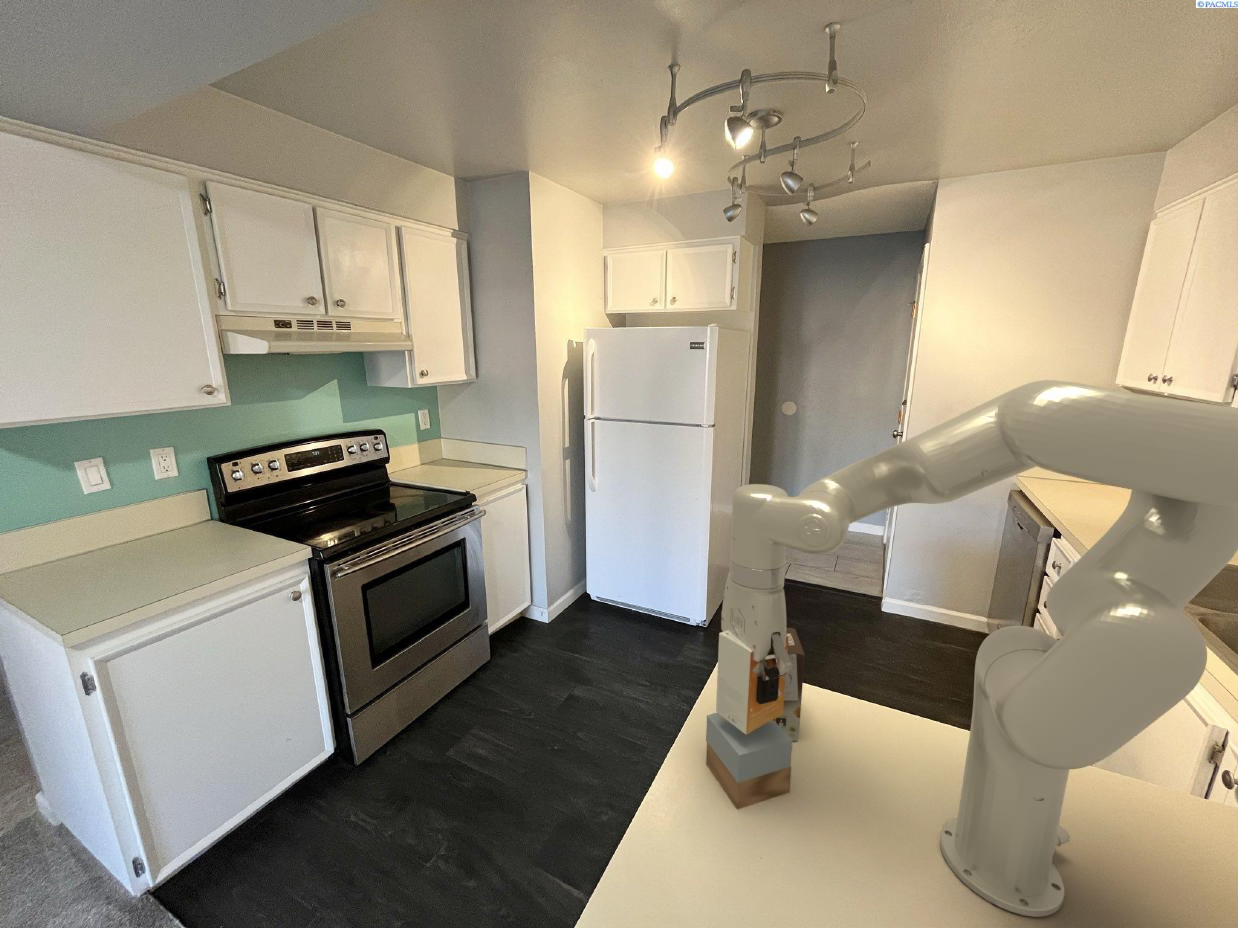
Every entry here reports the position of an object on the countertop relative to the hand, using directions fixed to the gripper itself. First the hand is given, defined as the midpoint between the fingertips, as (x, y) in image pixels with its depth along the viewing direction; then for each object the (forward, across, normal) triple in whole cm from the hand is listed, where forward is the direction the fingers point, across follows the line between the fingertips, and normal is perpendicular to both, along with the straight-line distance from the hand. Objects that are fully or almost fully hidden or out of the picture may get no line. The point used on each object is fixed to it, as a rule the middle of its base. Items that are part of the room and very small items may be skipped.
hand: (751, 684), depth 77 cm
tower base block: (+16, 0, 0) cm, 16 cm away
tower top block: (+12, 0, 0) cm, 12 cm away
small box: (+5, 0, 0) cm, 5 cm away
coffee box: (+16, -9, +12) cm, 22 cm away
